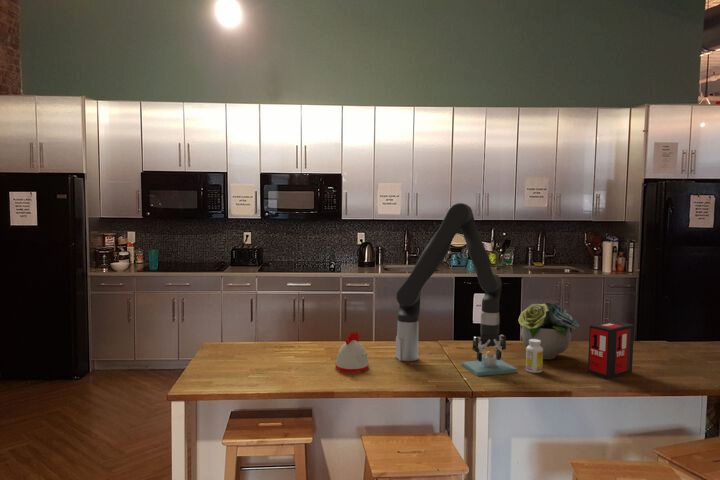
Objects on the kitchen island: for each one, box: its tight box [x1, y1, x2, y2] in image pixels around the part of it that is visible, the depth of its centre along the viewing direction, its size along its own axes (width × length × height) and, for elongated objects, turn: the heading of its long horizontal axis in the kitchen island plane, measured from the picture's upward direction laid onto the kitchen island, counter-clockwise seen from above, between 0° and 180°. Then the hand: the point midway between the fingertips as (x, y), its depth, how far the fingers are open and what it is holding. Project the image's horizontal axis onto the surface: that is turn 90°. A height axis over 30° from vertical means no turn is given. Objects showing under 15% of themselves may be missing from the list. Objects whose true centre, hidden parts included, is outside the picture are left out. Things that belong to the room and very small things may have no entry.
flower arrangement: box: [518, 302, 580, 360], centre depth 241 cm, size 25×25×24 cm
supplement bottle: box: [525, 339, 544, 374], centre depth 222 cm, size 7×7×13 cm
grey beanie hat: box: [335, 331, 370, 373], centre depth 225 cm, size 14×14×15 cm
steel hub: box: [481, 353, 497, 368], centre depth 224 cm, size 6×6×4 cm
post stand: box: [461, 350, 518, 377], centre depth 224 cm, size 18×14×8 cm
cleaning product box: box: [587, 320, 635, 380], centre depth 220 cm, size 16×9×20 cm, turn 122°
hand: (488, 360), depth 224 cm, fingers open, 8 cm apart
